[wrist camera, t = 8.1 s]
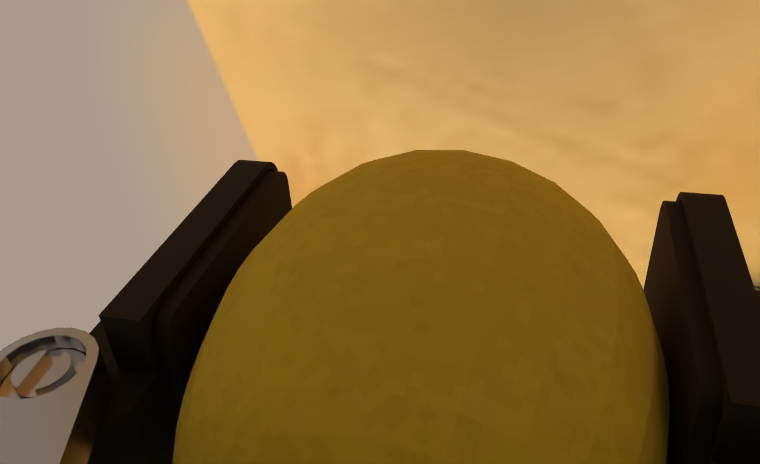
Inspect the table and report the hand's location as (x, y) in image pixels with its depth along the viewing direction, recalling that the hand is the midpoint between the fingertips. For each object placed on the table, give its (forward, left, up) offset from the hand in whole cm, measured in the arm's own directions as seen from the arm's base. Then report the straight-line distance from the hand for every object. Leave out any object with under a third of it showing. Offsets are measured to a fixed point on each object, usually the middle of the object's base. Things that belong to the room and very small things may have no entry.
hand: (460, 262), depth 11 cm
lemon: (0, 0, -1) cm, 1 cm away
